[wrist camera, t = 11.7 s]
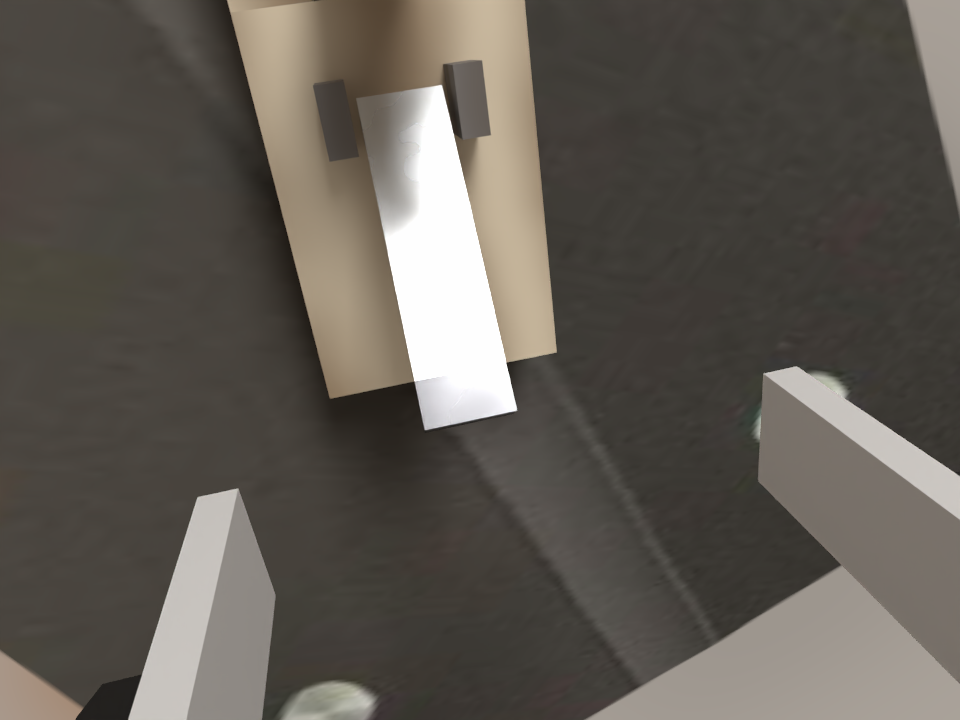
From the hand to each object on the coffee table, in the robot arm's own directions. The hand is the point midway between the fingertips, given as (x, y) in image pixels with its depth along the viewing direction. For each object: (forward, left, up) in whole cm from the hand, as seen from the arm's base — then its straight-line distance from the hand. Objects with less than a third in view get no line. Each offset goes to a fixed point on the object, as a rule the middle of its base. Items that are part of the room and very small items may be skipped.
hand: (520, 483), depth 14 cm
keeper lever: (0, +2, -11) cm, 12 cm away
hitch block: (0, +6, -20) cm, 21 cm away
